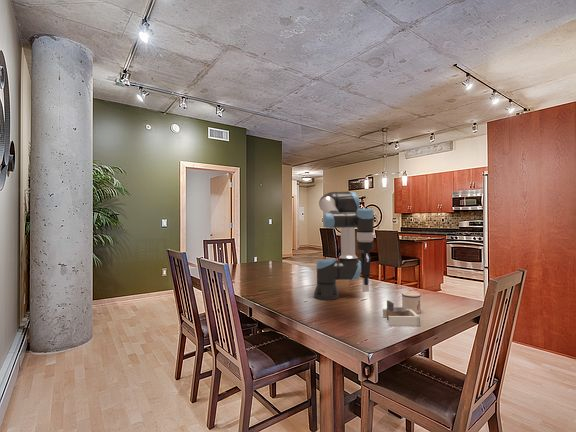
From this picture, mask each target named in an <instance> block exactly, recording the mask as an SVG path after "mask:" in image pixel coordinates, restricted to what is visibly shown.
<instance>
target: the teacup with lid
mask: <svg viewBox="0 0 576 432" xmlns="http://www.w3.org/2000/svg"><path fill="white" fill-rule="evenodd" d="M401 297H402V298H401V301H402V302H401V304H402V305H401V307H403V308H405V309H412V310H413V311H414V312H415V313H416V314H417V315H418V314H420V313H421V293H420V292H417V291H415V290H414V289H413V288H411V287H409V289H408V290H406V291H402V292H401Z"/></svg>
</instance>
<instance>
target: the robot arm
mask: <svg viewBox="0 0 576 432" xmlns="http://www.w3.org/2000/svg"><path fill="white" fill-rule="evenodd" d="M318 201H319V202H318V206H319V208H320V210H321V211H322V212H323V216H322V222H323V223H322V224H323V227H324V228H325V229H326V228H329V229H340V256H339V257H338V260H337V259H336V258H335V257H329V258H322V259H319V260H317V262H316V286H315V289H314V293H313V297H314V299H317V300H321V299H322V300H323V301H332V300H337V299H339V298H340V293H339V292H340V291H339V290H338V287H337V280H338V281H341V280H342V281H345V280H346V281H347V280H348V281H349V280H350V281H354V280H359V278H360V276H361V279H362V280H361V281H362V285H361V286H362V290H361V291H362V292H367V293H368V292H370V278H371V276H370V275H371V261H372V257H371V253H370V251H373V250H374V247H375V245H374V243H375V242H374V237H375V235H376V234H374V217H375V216H374V209H373V208H369V207H367V208H361V207H360V206H361V205H360V204H361V203H360V198H359V195H358V193H357V192H355V191H330V192H327V193H325V194H324V195H322V196H321V197H320V199H319V200H318ZM355 228H356V229H355ZM355 232H356V233H355ZM356 240H357V243H356ZM356 247H357V250H359V251H361V253H360V255H359V256H360V259H359V257H358V256H357V255H356Z"/></svg>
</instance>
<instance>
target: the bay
mask: <svg viewBox="0 0 576 432" xmlns="http://www.w3.org/2000/svg"><path fill="white" fill-rule="evenodd" d="M406 310H408V311H409V316H389V321H388V326H390V327H396V326H397V327H421V316H420V315H419V314H418V313H417V314H416V313H415V312H414V311H413V310H412V309H406ZM382 318H384V319H387V308H382Z"/></svg>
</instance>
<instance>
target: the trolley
mask: <svg viewBox="0 0 576 432" xmlns="http://www.w3.org/2000/svg"><path fill="white" fill-rule="evenodd" d="M394 304H395V303H393V302H392V301H390V300H386V309H387V318H386V320H387V321H388V322H389V316H409V311H408V310H406V309H405V308H403V307H402V306H400V307H395V306H394Z"/></svg>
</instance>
